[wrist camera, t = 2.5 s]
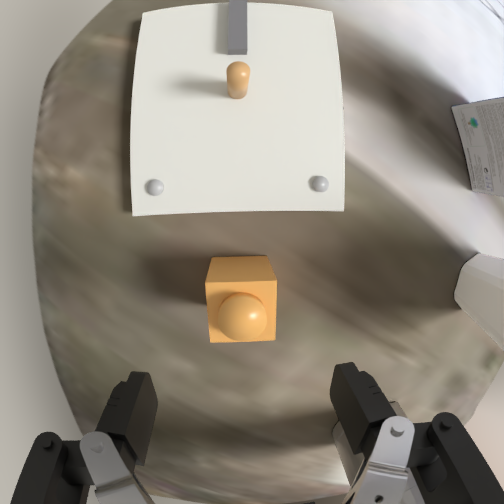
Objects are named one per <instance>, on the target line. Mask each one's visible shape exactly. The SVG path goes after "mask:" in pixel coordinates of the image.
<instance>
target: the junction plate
mask: <svg viewBox="0 0 504 504" xmlns="http://www.w3.org/2000/svg"><path fill="white" fill-rule="evenodd" d="M130 169H131V196H132V212H133V216H143V215H159V214H178V213H202V212H233V211H344V190H345V144H344V116H343V98H342V85H341V74H340V64H339V55H338V47H337V39H336V32H335V26H334V19H333V13H332V12H331V11H325V10H320V9H314V8H307V7H300V6H292V5H282V4H269V3H247V0H229V3H212V4H198V5H188V6H180V7H173V8H166V9H160V10H155V11H150V12H145V13H143V16H142V21H141V27H140V33H139V39H138V46H137V53H136V61H135V70H134V80H133V91H132V107H131V132H130Z"/></svg>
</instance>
